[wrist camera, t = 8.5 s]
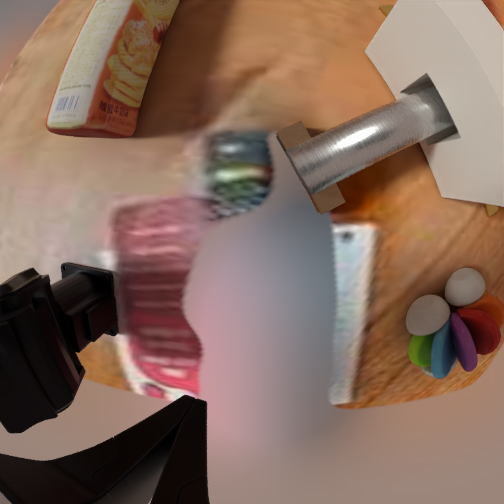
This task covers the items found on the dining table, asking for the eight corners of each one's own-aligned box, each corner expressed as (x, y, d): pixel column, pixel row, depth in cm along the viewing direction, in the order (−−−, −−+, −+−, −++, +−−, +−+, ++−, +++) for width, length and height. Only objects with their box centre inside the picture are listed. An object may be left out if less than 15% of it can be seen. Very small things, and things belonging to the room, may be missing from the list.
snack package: (154, -32, 14) (130, -65, 8) (212, -38, 14) (196, -79, 8) (83, 139, 20) (31, 132, 13) (142, 145, 19) (91, 133, 13)
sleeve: (441, 197, 17) (533, 212, 8) (364, 51, 15) (413, -23, 5) (483, 171, 16) (567, 176, 6) (413, 38, 14) (470, -19, 4)
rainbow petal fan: (482, 320, 20) (521, 354, 13) (410, 371, 22) (437, 420, 15) (469, 251, 18) (521, 276, 11) (386, 309, 20) (422, 356, 13)
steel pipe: (355, 298, 20) (376, 333, 15) (224, 62, 17) (207, 27, 12) (508, 200, 17) (546, 206, 11) (407, 4, 13) (428, -25, 8)
